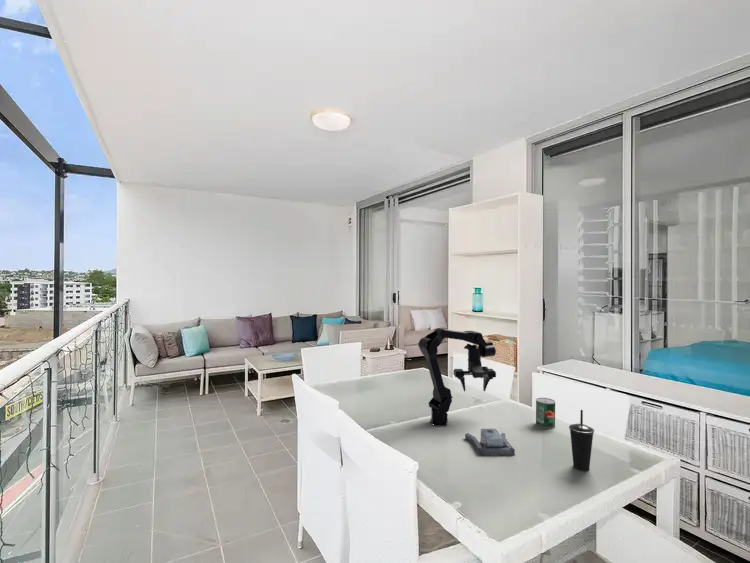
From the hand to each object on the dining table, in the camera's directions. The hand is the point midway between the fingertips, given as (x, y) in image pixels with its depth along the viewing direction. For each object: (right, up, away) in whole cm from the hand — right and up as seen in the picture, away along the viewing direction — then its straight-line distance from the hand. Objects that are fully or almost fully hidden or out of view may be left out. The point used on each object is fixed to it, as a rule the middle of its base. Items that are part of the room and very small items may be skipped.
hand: (474, 391), depth 178 cm
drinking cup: (+25, -13, -46) cm, 54 cm away
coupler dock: (-2, -13, -31) cm, 33 cm away
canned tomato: (+29, -13, -9) cm, 33 cm away
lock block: (-2, -13, -31) cm, 33 cm away
